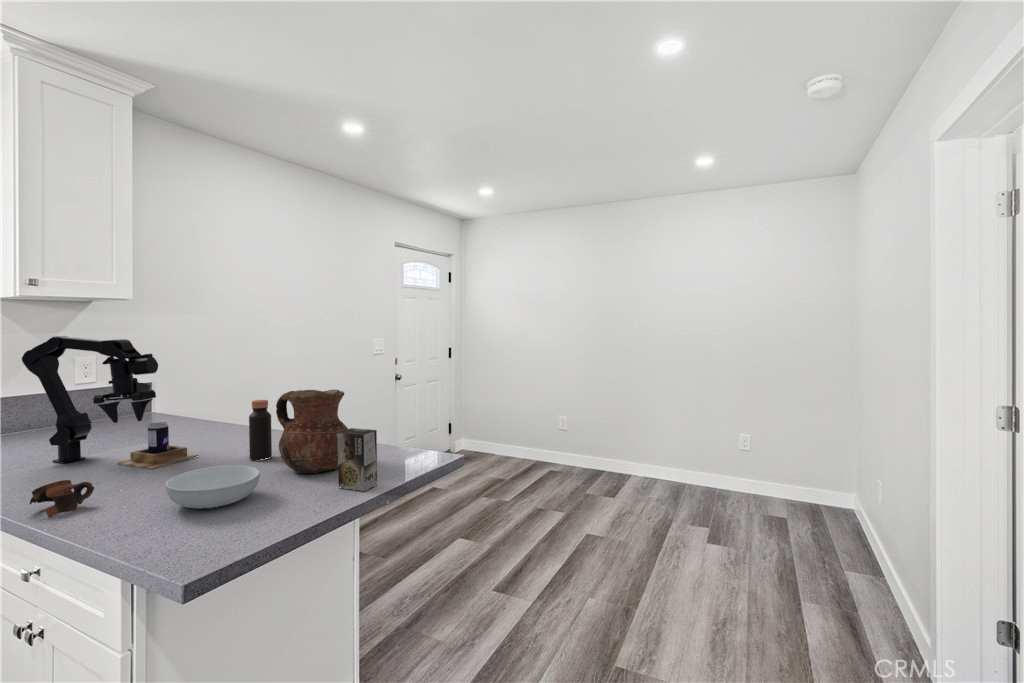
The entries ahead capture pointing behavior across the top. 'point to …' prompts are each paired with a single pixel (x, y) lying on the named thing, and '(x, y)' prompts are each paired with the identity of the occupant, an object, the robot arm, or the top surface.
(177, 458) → the socket board
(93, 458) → the top surface
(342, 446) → the coffee box
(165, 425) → the beverage can
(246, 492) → the serving bowl
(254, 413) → the bottle
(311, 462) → the jug
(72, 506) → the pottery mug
